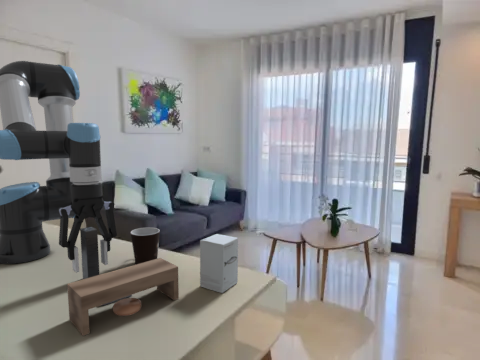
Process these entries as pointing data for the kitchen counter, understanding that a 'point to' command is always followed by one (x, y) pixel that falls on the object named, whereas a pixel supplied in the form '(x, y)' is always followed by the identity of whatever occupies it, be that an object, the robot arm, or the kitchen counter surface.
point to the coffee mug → (145, 244)
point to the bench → (119, 288)
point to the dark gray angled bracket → (90, 254)
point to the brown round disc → (127, 306)
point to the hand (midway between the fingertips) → (90, 266)
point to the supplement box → (218, 262)
